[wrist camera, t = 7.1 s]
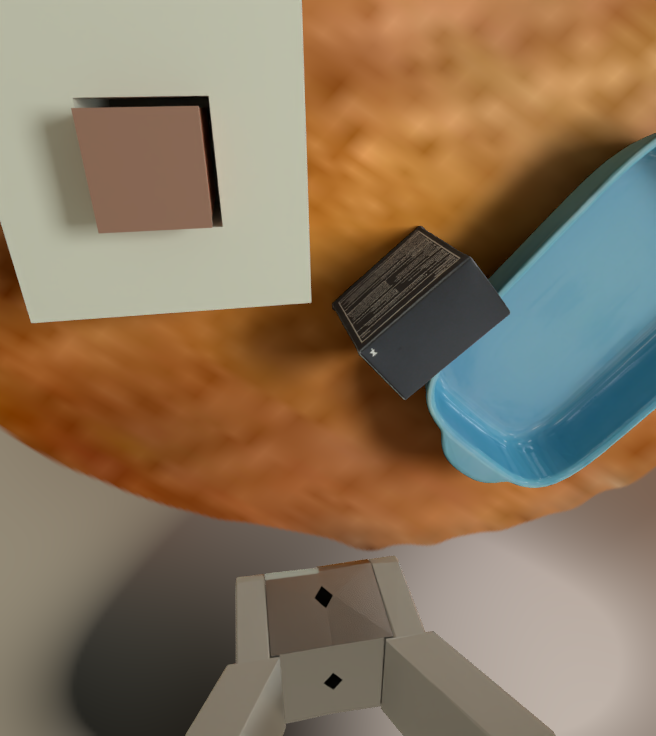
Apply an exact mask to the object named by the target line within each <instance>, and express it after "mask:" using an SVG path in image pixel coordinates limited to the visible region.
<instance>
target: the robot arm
mask: <svg viewBox="0 0 656 736" xmlns="http://www.w3.org/2000/svg"><path fill="white" fill-rule="evenodd" d="M265 586H266V587H265ZM235 597H236V600H235V601H236V664H231V665H227V667H226V668H225V670H224V672H223V673H222V675H221V677H220V678H219V680H218V682H217V683H216V685H215V687H214V688H213V690H212V692H211V693H210V695H209V697H208V699H207V700H206V702H205V704H204V705H203V707H202V708H201V710H200V712H199V714H198V715H197V717H196V718H195V720H194V722H193V724H192V725H191V727H190V728H189V730H188V732H187V734H186V735H185V736H283V733H284V730H285V728H286V726H285V724H286V723H291V722H296V721H300V720H305V719H310V718H314V717H319V716H323V715H328V714H333V713H339V712H346V711H352V710H359V709H365V708H372V707H378V706H381V709H382V710H383V712H384V713H385V714H386V715H387V716H388V717H389V719H390V720H391V721H392V722H393V724H394V725H395V726H396V727H397V729H398V730H399V731H400V732H401V733H402V735H403V736H555V734H554V732H553V731H552V730H551V729H550V728H549V727H547V726H546V725H545V724H544V723H542V722H541V721H540V720H539V719H538V718H537V717H535V716H534V715H533V714H532V713H531V712H529V711H528V710H527V709H526V708H525V707H523V706H522V705H521V704H520V703H519V702H517V701H516V700H515V699H514V698H513V697H511V696H510V695H509V694H508V693H507V692H505V691H504V690H503V689H502V688H501V687H500V686H498V685H497V684H496V683H495V682H494V681H492V680H491V679H490V678H489V677H488V676H486V675H485V674H484V673H483V672H481V671H480V670H479V669H478V668H477V667H476V666H474V665H473V664H472V663H471V662H469V661H468V660H467V659H466V658H465V657H463V656H462V655H461V654H460V653H459V652H458V651H456V650H455V649H454V648H453V647H451V646H450V645H449V644H448V643H447V642H446V641H444V640H443V639H442V638H441V637H440V636H438V635H437V634H436V633H435V632H434V631H432V632H425V630H424V627H423V625H422V622H421V619H420V617H419V614H418V611H417V609H416V606H415V603H414V601H413V598H412V596H411V593H410V590H409V587H408V585H407V582H406V579H405V577H404V574H403V571H402V568H401V566H400V563H399V560H398V559H397V558H396V557H395V556H389V557H382V558H375V559H369V560H367V559H366V560H359V561H352V562H346V563H339V564H334V565H327V566H320V567H317V568H311V569H302V570H294V571H285V572H276V573H268V574H265V577H264V574H262V575H254V576H246V577H237V580H236V585H235Z"/></svg>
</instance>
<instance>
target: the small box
mask: <svg viewBox="0 0 656 736" xmlns="http://www.w3.org/2000/svg"><path fill="white" fill-rule="evenodd" d="M332 309H333V310H334V311H336V313H337V314H338V316H339V318H340V320H341V322H342V324H343V326H344V327H345V329H346V331H347V333H348V334H349V336H350V338H351V340H352V341H353V343H354V345H355V347H356V349H357V351H358V354H359V355H360V356H361V357H362V358H363V359H364V360H365V361H366V362H367V363H368V364H369V365H370V366H371V367H372V368H373V369H374V370H375V371H376V372H377V373H378V374H379V375H380V376H381V377H382V378H383V379H384V380H385V381H386V382H387V383H388V384H389V385H390V386H391V387H392V388H393V389H394V391H396V392H397V393H398V394H399V396H400V397H402V398H403V399H404V400H406V399H408V398H409V397H410V396H411V395H412V394H413V393H415V392H416V391H417V390H418V389H420V388H421V387H422V386H423V385H424V384H426V383H427V382H428V381H429V380H430V379H432V378H433V377H434V376H435V375H436V374H438V373H439V372H440V371H441V370H442V369H444V368H445V367H446V366H447V365H449V364H450V363H451V362H452V361H453V360H455V359H456V358H457V357H458V356H459V355H461V354H462V353H463V352H464V351H466V350H467V349H468V348H469V347H470V346H472V345H473V344H474V343H475V342H477V341H478V340H479V339H480V338H481V337H483V336H484V335H485V334H486V333H488V332H489V331H490V330H491V329H492V328H494V327H495V326H496V325H497V324H499V323H500V322H501V321H502V320H504V319H505V318H506V317H507V316H508V315H510V310H509V309H508V307H507V306H506V304H505V303H504V301H503V300H502V298H501V297H500V296H499V294H498V293H497V291H496V290H495V289H494V287H493V286H492V285H491V283H490V282H489V280H488V279H487V278H486V276H485V275H484V274H483V272H482V271H481V270H480V268H479V267H478V265H477V264H476V263H475V261H474V260H473V259H472V258H471V257H470V256H468V255H466V254H463V253H462V252H460V251H458V250H457V249H455V248H454V247H452V246H451V245H449V244H447V243H446V242H444V241H443V240H441V239H439V238H438V237H436V236H434V235H433V234H432V233H430V232H428V231H426V230H425V228H423V227H422V226H418V227H417V228H416V229H415V230H414V231H413V232H412V233H411V234H409V235H408V236H407V237H406V238H405V239H404V240H403V241H401V242H400V243H399V244H398V245H397V246H396V247H395V248H394V249H392V250H391V251H390V252H389V253H388V254H387V255H386V256H385V257H383V258H382V259H381V260H380V261H379V262H378V263H377V264H376V265H375V266H373V267H372V268H371V269H370V270H369V271H368V272H367V273H366V274H364V275H363V276H362V277H361V278H360V279H359V280H358V281H357V282H355V283H354V284H353V285H352V286H351V287H350V288H349V289H348V290H346V291H345V292H344V293H343V294H342V295H341V296H340V297H339V298H338V299H337V300H336V301H334V302H333V303H332Z"/></svg>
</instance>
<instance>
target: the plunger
mask: <svg viewBox="0 0 656 736" xmlns="http://www.w3.org/2000/svg"><path fill="white" fill-rule="evenodd" d="M71 111H72V115H73V120H74V124H75V129H76V133H77V138H78V142H79V147H80V152H81V156H82V161H83V165H84V170H85V174H86V179H87V183H88V188H89V192H90V197H91V201H92V206H93V211H94V215H95V220H96V224H97V229H98V233H118V232H138V231H158V230H178V229H198V228H212V226H213V223H212V214H213V208H214V203H215V197H216V190H215V181H214V172H213V163H212V154H211V145H210V136H209V128H208V119H207V110H206V108H199V106H161V107H104V108H71Z"/></svg>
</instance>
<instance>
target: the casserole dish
mask: <svg viewBox="0 0 656 736" xmlns="http://www.w3.org/2000/svg"><path fill="white" fill-rule="evenodd" d="M488 280H489V282H490V283H491V285H492V286H493V287H494V289H495V290H496V291H497V293H498V294H499V296H500V297H501V298H502V300H503V301H504V303H505V304H506V306H507V307H508V309H509V310H510V315H508V316H507V317H506V318H505V319H504V320H502V321H501V322H500V323H499V324H497V325H496V326H495V327H494V328H492V329H491V330H490V331H489V332H488V333H486V334H485V335H484V336H483V337H481V338H480V339H479V340H478V341H477V342H475V343H474V344H473V345H472V346H470V347H469V348H468V349H467V350H466V351H464V352H463V353H462V354H461V355H459V356H458V357H457V358H456V359H455V360H453V361H452V362H451V363H450V364H449V365H447V366H446V367H445V368H444V369H442V370H441V371H440V372H439V373H438V374H436V375H435V376H434V377H433V378H432V379H430V380H429V381H428V382H427V383H426V384H425V387H426V402H427V406H428V410H429V412H430V414H431V416H432V418H433V419H434V421H435V423H436V424H437V426H438V427H439V428H440V430H441V443H442V449H443V452H444V455H445V457H446V458H447V460H448V461H449V462H450V463H451V464H452V465H453V466H454V467H455V468H456V469H457V470H459V471H460V472H461V473H463V474H464V475H466V476H468V477H470V478H471V479H473V480H476V481H480V482H485V483H497V482H511V483H513V484H516V485H519V486H523V487H529V488H538V487H545V486H549V485H552V484H555V483H557V482H560V481H562V480H564V479H566V478H568V477H570V476H571V475H573V474H575V473H576V472H578V471H580V470H581V469H582V468H584V467H585V466H586V465H588V464H589V463H591V462H592V461H593V460H595V459H596V458H597V457H598V456H600V455H601V454H602V453H603V452H605V451H606V450H607V449H608V448H609V447H611V446H612V445H613V444H614V443H616V442H617V441H618V440H619V439H620V438H622V437H623V436H624V435H625V434H626V433H627V432H629V431H630V430H631V429H632V428H633V427H635V426H636V425H637V424H638V423H639V422H640V421H642V420H643V419H644V418H645V417H646V416H647V415H649V414H650V413H651V412H652V411H653V410H654V409H656V133H654V134H652V135H650V136H647V137H645V138H643V139H641V140H639V141H637V142H635V143H633V144H631V145H629V146H628V147H626V148H624V149H623V150H621V151H620V152H618V153H617V154H615V155H614V156H613V157H611V158H610V159H608V160H607V161H606V162H605V163H603V164H602V165H601V166H600V167H599V168H598V169H596V170H595V171H594V172H593V173H592V174H591V175H590V176H589V177H588V178H586V179H585V180H584V181H583V182H582V183H581V184H580V185H579V186H578V187H577V188H576V189H575V190H574V191H573V192H572V193H571V194H570V195H569V196H568V197H567V198H566V199H565V200H564V201H563V202H562V203H561V204H560V205H559V206H558V207H557V208H556V209H555V211H554V212H553V213H552V214H551V215H550V216H549V217H548V218H547V219H546V220H545V221H544V222H543V223H542V224H541V225H540V226H539V227H538V228H537V229H536V230H535V231H534V232H533V233H532V234H531V235H530V236H529V237H528V238H527V240H526V241H525V242H524V243H523V244H522V245H521V246H520V247H519V248H518V249H517V250H516V251H515V252H514V253H513V254H512V255H511V256H510V257H509V258H508V259H507V260H506V261H505V262H504V263H503V264H502V265H501V266H500V267H499V269H498V270H497V271H496V272H495V273H494V274H493V275H492V276H491V277H490V278H489V279H488Z"/></svg>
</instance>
